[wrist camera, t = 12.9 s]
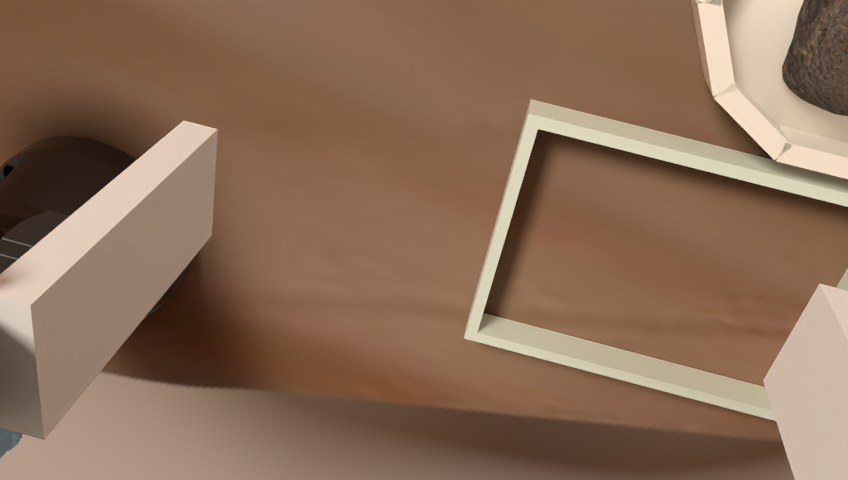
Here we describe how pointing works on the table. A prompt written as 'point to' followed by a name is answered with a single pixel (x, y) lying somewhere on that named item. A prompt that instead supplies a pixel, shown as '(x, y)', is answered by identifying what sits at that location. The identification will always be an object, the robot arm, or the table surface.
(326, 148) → the table surface
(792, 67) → the stone
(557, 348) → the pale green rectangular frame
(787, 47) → the bowl
